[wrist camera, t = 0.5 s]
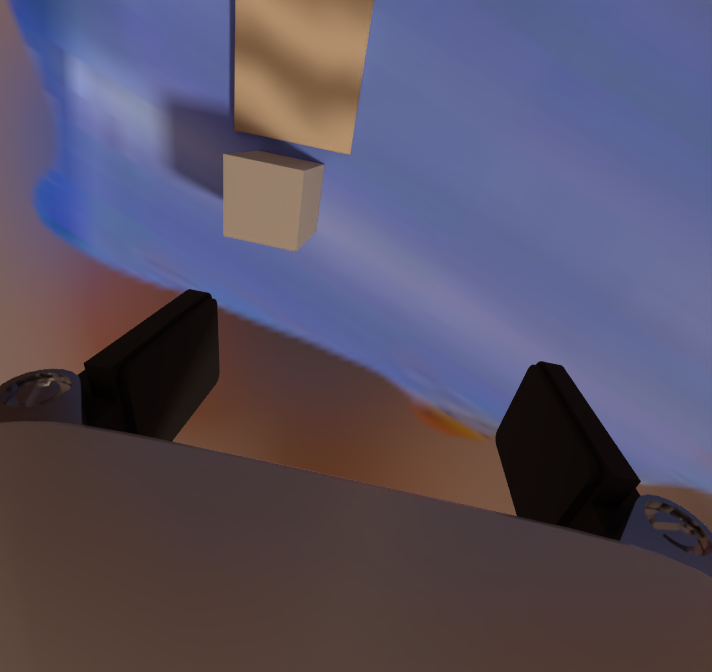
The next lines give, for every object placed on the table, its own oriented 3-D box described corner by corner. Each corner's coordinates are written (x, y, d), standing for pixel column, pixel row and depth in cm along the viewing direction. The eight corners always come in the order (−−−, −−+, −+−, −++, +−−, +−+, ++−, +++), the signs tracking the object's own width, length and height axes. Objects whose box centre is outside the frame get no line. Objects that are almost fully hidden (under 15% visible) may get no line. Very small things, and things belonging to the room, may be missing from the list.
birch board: (238, -27, 29) (235, -30, 28) (373, 1, 28) (373, -2, 28) (236, 130, 34) (234, 130, 33) (350, 154, 34) (349, 154, 33)
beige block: (259, 150, 35) (223, 153, 28) (324, 164, 34) (304, 170, 28) (257, 217, 38) (223, 235, 31) (316, 230, 38) (296, 251, 31)
